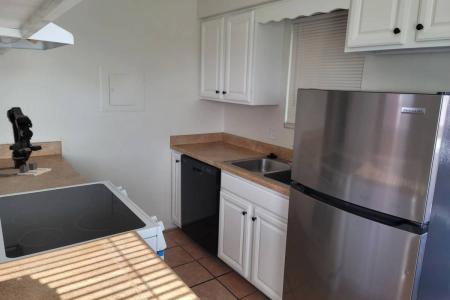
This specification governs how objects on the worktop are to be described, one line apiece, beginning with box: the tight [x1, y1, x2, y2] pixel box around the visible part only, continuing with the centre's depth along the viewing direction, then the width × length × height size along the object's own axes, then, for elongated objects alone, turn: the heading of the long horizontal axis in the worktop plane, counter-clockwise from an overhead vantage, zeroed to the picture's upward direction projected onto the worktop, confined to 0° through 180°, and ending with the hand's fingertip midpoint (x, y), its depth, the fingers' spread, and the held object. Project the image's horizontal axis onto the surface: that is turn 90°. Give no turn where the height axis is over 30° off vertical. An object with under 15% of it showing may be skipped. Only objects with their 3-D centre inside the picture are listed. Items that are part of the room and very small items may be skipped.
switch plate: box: [16, 167, 52, 177], centre depth 216 cm, size 12×16×1 cm
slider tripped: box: [19, 164, 30, 173], centre depth 212 cm, size 3×4×4 cm
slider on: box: [28, 161, 38, 170], centre depth 220 cm, size 3×4×4 cm
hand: (26, 161), depth 211 cm, fingers closed
